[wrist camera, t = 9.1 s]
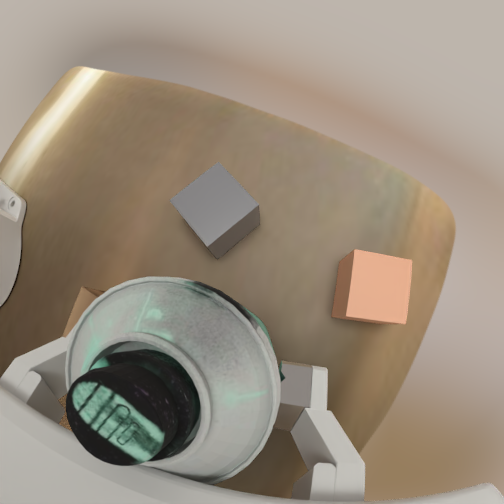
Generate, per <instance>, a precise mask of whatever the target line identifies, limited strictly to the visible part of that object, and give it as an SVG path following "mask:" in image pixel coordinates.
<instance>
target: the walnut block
mask: <svg viewBox="0 0 504 504" xmlns="http://www.w3.org/2000/svg"><path fill="white" fill-rule="evenodd" d="M103 293H105V292H104V291H99V290H95V289H90V288H86V287H81V290H80V292H79V294H78V297H77V299H76V302H75V304H74V307H73V309H72V312H71V314H70V317H69V320H68V322H67V325H66V328H65V330H64V333H63V336H62V337H65V338H66V337H67V335H68V334H69V333H70V331H71V330H72V329H73V327H74V326H75V325H76V324H77V322H78V321H79V319H80V317H81V315H82V314H83V312H84V311H85V310H86V309H87V308H88V307H89V306H90V305H91V303H92V302H93V301H94V300H95V299H96V298H98V297H99V296H100V295H102V294H103Z"/></svg>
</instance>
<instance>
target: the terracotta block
mask: <svg viewBox="0 0 504 504" xmlns="http://www.w3.org/2000/svg"><path fill="white" fill-rule="evenodd" d="M411 273H412V260H408V259H403V258H398V257H393V256H388V255H383V254H377V253H372V252H367V251H361V250H356V249H354V250H353V251H352V252H351V253H349V254H348V255H347V256H346V257H345V258H343V259H342V260H341V261H340V262H339V268H338V276H337V283H336V290H335V297H334V303H333V309H332V316H331V317H334V318H341V319H348V320H355V321H363V322H370V323H378V324H406V320H407V312H408V304H409V295H410V284H411Z"/></svg>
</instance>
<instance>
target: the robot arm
mask: <svg viewBox="0 0 504 504" xmlns="http://www.w3.org/2000/svg"><path fill="white" fill-rule="evenodd" d="M25 211H26V202H25V200H24V199H23V198H21V197H20V196H19V195H18V194H17V193H16V192H15V191H13V190H12V189H11V188H10V187H9V186H8V185H7V184H6V183H4V182H3V181H2V180H1V179H0V306H1V305H2V304H3V303H4V302H5V300H6V299H7V297H8V295H9V293H10V291H11V289H12V287H13V284H14V282H15V279H16V275H17V272H18V267H19V262H20V255H21V227H22V222H23V219H24V215H25ZM75 326H76V325H75ZM75 326H74V327H73V329H74V328H75ZM73 329H72V330H71V331H70V333H69V334H68V335H67V337H66V338H65V337H61V338H59V339H57V340H54V341H52V342H50V343H48V344H46V345H43V346H41V347H39V348H37V349H35V350H32V351H30V352H28V353H26V354H24V355H21V356H19V357H17V358H15V359H14V360H13V362H12V363H11V365H10V366H9V367H8V369H7V370H6V371H5V373H4V374H3V376H2V377H1V378H0V504H504V497H503V495H502V494H501V493H500V492H499V490H498V489H497V488H496V487H495V486H494V485H493V484H491V483H483V484H479V485H475V486H471V487H467V488H463V489H459V490H454V491H449V492H444V493H439V494H433V495H427V496H420V497H412V498H404V499H394V500H382V501H364V489H365V463H364V462H363V460H362V459H361V457H360V455H359V454H358V452H357V451H356V449H355V448H354V446H353V445H352V443H351V441H350V440H349V438H348V437H347V435H346V434H345V432H344V431H343V429H342V427H341V426H340V424H339V423H338V421H337V420H336V418H335V416H334V415H333V413H332V412H331V411H328V410H327V388H328V370H327V368H325V367H318V366H311V365H308V364H301V363H295V362H289V361H283V360H282V361H281V364H280V367H279V375H280V380H281V386H280V404H279V408H278V413H277V417H276V421H275V423H274V425H273V428H277V429H283V430H288V431H291V434H292V437H293V439H294V441H295V443H296V445H297V448H298V450H299V452H300V454H301V456H302V458H303V461H304V463H305V465H306V467H307V469H308V472H307V473H306V474H304V475H303V476H302V477H301V478H300V479H298V480H297V481H296V482H295V483H294V485H293V491H292V497H291V499H288V498H279V497H271V496H264V495H258V494H252V493H246V492H241V491H235V490H231V489H226V488H221V487H217V486H213V485H209V484H205V483H201V482H197V481H193V480H190V479H186V478H183V477H180V476H176V475H173V474H170V473H167V472H164V471H161V470H158V469H155V468H152V467H149V466H144V465H139V464H137V465H133V466H118V465H112V464H109V463H106V462H103V461H101V460H99V459H97V458H96V457H94V456H93V455H91V454H90V453H89V452H88V451H86V450H85V448H84V447H83V446H82V445H81V444H80V443H79V441H78V440H77V438H76V436H75V435H74V433H73V432H72V431H70V430H68V429H66V428H65V427H63V426H61V425H59V422H60V420H61V418H62V417H63V415H64V413H65V410H64V408H63V406H62V405H61V404H60V402H59V401H58V399H59V398H61V397H62V396H64V395H65V394H67V393H68V392H67V387H66V376H65V362H66V355H67V348H68V344H69V341H70V338H71V335H72V332H73Z"/></svg>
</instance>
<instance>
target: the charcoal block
mask: <svg viewBox="0 0 504 504" xmlns="http://www.w3.org/2000/svg"><path fill="white" fill-rule="evenodd" d="M170 202H171V203H172V204H173V205H174V207H175V208H176V209H177V211H178V212H179V213H180V214H181V216H182V217H183V218H184V220H185V221H186V222H187V223H188V225H189V226H190V227H191V228H192V229H193V231H194V232H195V233H196V234H197V236H198V237H199V238H200V239H201V240H202V242H203V243H204V244H205V245H206V247H207V248H208V249H209V250H210V251H211V253H212V254H213V255H214V256H215V257H216V259H219V258H220V257H221V256H222V255H223V254H225V253H226V252H227V251H228V250H229V249H231V248H232V247H233V246H234V245H236V244H237V243H238V242H239V241H240V240H242V239H243V238H244V237H245V236H246V235H248V234H249V233H250V232H251V231H252V230H254V229H255V228H256V227H257V226H259V225H260V214H259V204H258V203H257V202H256V201H255V200H254V199H253V198H252V197H251V195H250V194H249V193H248V192H247V191H246V190H245V189H244V188H243V187H242V186H241V185H240V184H239V183H238V182H237V181H236V180H235V179H234V178H233V176H232V175H231V174H230V173H229V172H228V171H227V170H226V169H225V168H224V167H223V166H222V165H221V164H220V163H219V162H218V163H217V164H215V165H214V166H213V167H211V168H210V169H209V170H207V171H206V172H205V173H203V174H202V175H201V176H200V177H198V178H197V179H196V180H194V181H193V182H192V183H191V184H189V185H188V186H187V187H185V188H184V189H183V190H182V191H180V192H179V193H178V194H177V195H176V196H174V197H173V198H172V199H171V200H170Z"/></svg>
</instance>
